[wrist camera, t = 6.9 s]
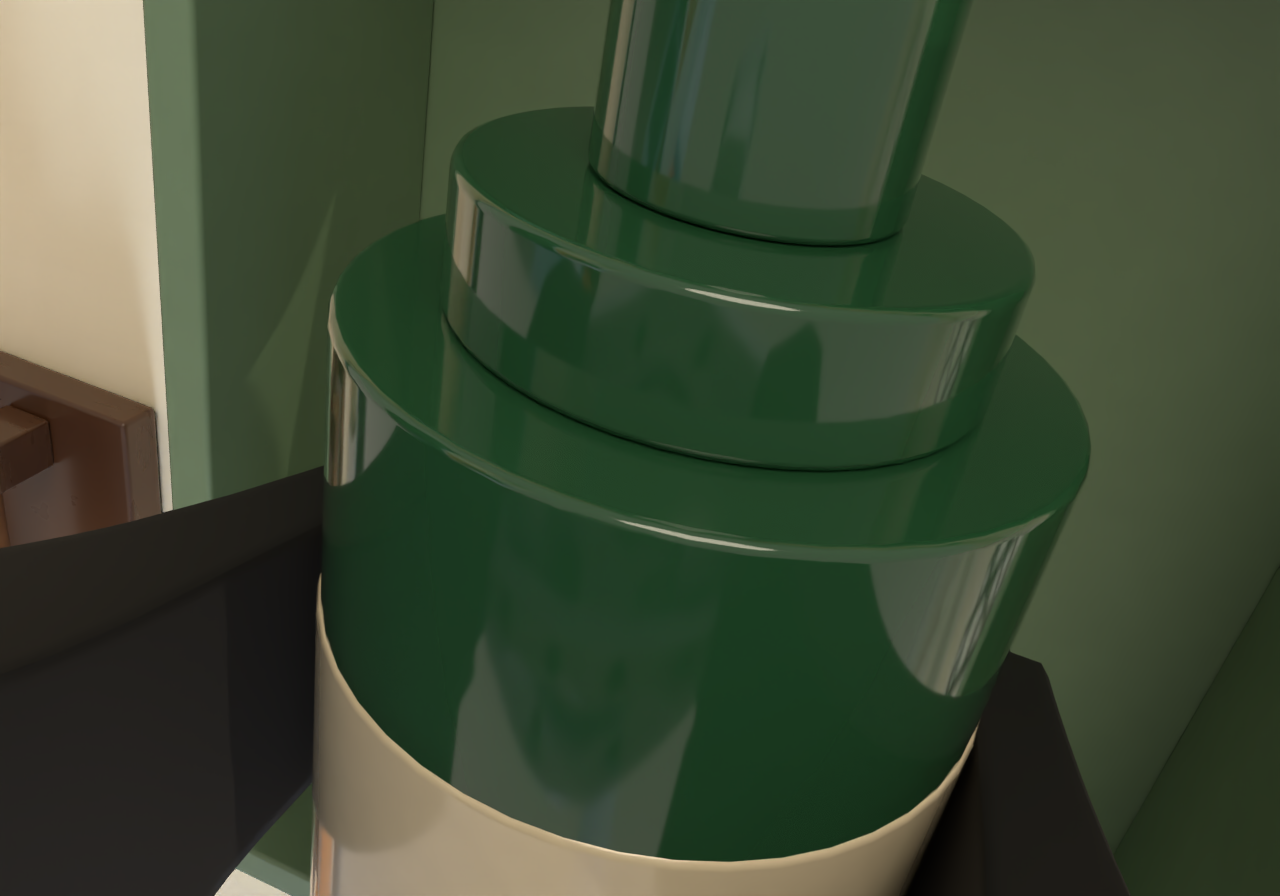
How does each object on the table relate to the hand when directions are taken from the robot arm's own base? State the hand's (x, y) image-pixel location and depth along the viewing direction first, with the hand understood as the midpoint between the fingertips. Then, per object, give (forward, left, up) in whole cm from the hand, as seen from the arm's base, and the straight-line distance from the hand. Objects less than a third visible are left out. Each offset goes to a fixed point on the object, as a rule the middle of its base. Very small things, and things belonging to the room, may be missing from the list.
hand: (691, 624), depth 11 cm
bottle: (+2, 0, -1) cm, 2 cm away
